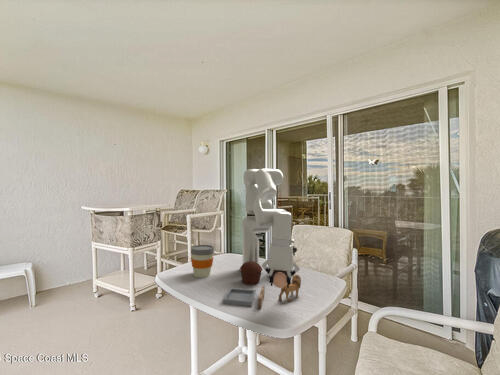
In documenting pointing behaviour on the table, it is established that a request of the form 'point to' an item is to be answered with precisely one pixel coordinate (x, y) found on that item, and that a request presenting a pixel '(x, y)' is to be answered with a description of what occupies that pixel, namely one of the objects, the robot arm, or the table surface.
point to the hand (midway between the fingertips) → (279, 284)
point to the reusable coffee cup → (202, 260)
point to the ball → (280, 280)
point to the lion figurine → (291, 287)
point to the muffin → (251, 273)
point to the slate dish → (239, 297)
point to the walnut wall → (261, 297)
